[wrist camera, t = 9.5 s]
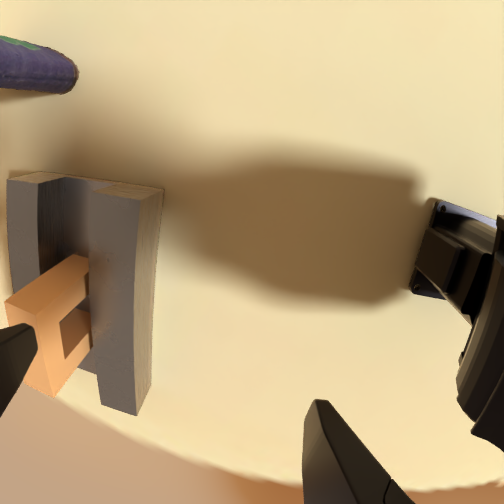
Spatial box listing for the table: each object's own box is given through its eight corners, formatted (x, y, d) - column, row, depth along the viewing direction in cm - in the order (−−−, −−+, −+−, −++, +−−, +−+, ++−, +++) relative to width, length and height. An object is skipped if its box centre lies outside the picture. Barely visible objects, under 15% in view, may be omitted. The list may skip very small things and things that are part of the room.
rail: (164, 189, 19) (140, 200, 15) (151, 384, 24) (136, 416, 20) (41, 171, 19) (6, 179, 15) (52, 350, 24) (32, 374, 20)
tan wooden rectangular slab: (101, 261, 20) (35, 315, 12) (102, 334, 22) (53, 398, 14) (73, 254, 20) (4, 301, 12) (76, 325, 22) (24, 383, 14)
